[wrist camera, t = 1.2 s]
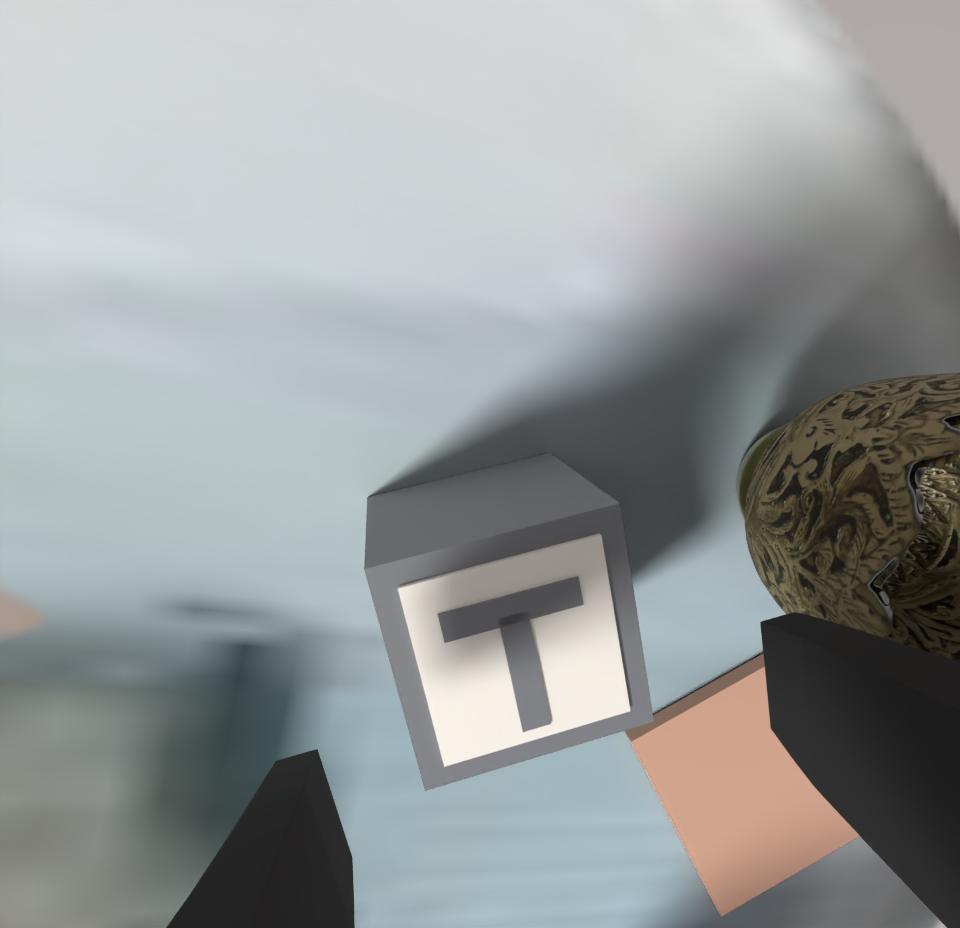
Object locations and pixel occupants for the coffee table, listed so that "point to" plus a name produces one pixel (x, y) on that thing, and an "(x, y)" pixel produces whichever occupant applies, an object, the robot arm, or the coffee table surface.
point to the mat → (736, 789)
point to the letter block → (506, 615)
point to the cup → (864, 511)
